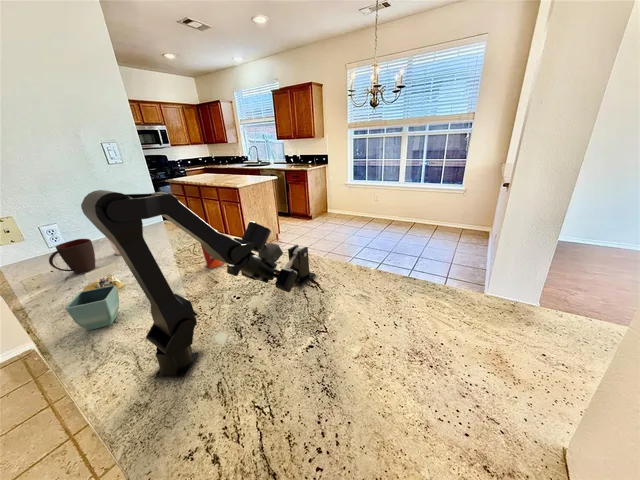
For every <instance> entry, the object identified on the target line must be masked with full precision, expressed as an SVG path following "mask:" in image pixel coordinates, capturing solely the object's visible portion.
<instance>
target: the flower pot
mask: <svg viewBox="0 0 640 480" xmlns="http://www.w3.org/2000/svg"><path fill="white" fill-rule="evenodd" d="M64 309H65V311H66V312H67V313H68V315H69V316H70V318H71V319H72V320H73V321H74V323H75V324H77V325H78V326H79V327H81V328H83V329H85V330H89V331H91V330H96V329H100V328H104V327H109V326H111V325H113V323H114V321H115V319H116V317H117V316H118V313H119V309H120V297H119V292H118V290H117V287H116V285H113V286H108V287H103V288H98V289H93V290H88V291H83V290H82V291H80V292H79V293H77V295H76V296H74V297H73V299H72V300H71V301H70V302H69V303H68V304H67V306H65V308H64Z"/></svg>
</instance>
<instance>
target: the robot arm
mask: <svg viewBox="0 0 640 480" xmlns="http://www.w3.org/2000/svg"><path fill="white" fill-rule="evenodd" d="M80 207H81V211H82V213H83V215H84V216H85V218H87V219H88V220H89V221H90V222H91V224H92V225H93V226H94V227H95V228H96V229H97V230H98V231H99V232H100V233H101V234H102V235H104V236H105V237H107V238H106V239H107V240H108V239H109V240H110V241H111V242H112V243H113V244H114V245H115V246H116V248H117V249H118V251H119V253H120V256H121V257H122V259H123V261H124V263H125V264H126V266H127V267H128V269H129V270H130V272H131V274H132V275H133V277H134V279H135V280H136V282H137V283H138V286H139V287H140V288H141V291H142V292H143V293H144V295H145V296H146V298H147V300H148V301H149V303H150V315H151V318H152V321H153V323H152V325H151V327H150V329H149V330H148V332H147V334H146V336H145V339H146V340H147V341H148V342H149V343H151V344H153V345H154V346H155V347H156V348H155V349H156V352H155V354H154V355H155V357H156V360H157V363H158V366H159V369H158V370H157V371H156V372H155V377H158V378H184V377H186V375H188V372H189V371H190V370H191V368H192V367H193V365H194V364H195V362H196V360H197V359H198V358H199V355H200V353H199V352H196V351H193V349H192V345H193V343H194V342H193V340H194V333H195V328H196V326H197V324H198V319H197V317H198V315H199V314H198V313H197V312H196V311H195V310H194V307H193V303H192V302H191V300H190V299H187V298H185V297H184V296H182V295H180V294H178V293H177V292H175V293H174V292H173V289H172V288H171V286H170V284H169V283H168V280H167V279H166V276H165V275H164V273H163V271H162V269H161V268H160V266H159V264H158V262H157V260H156V258H155V257H154V255H153V253H152V251H151V248H149V246H148V244H147V242H146V240H145V237H144V225H143V220H148V219H152V218H155V217H159V216H162V217H163V218H165V219H166V220H167V221H168V222H170V223H172V224H173V225H175V226H176V227H177V228H179V229H180V230H181V231H183V232H184V233H186V234H188V235H189V236H190V237H191V238H193V239H194V240H196V242H198V243H201V244H202V245H203V247H204V249H205V251H206V252H207V253H208V254H209V255H210V256H211V257H212V258H213V259H216V260H218V261H221V262H222V263H224V264H226V273H227V274H229V275H232V276H234V277H238V276H239V274H240V273H241V276H243V277H245V278H248V279H251V280H253V281H259V282H263V283H265V284H269V281H273V280H274V279H276V278H277V279H276V281H275V282H274V283H275V284H274V286H275V288H276V289H278V290H280V291H284V292H285V293H290V292H291V291H292V289H294V288H295V286H296V284H295V283H294V282H295V279H296V277H297V272H296V271H295V270H293V269H290V268H286V267H285V266H284V267H282V268H281V269H277V266H278V264H277V262H278V260H279V259H280V258H281V257H282V256H283V255H284V252H283V249H282V247H281V246H280V245H279V244H277V243H274V242H268V240H269V238H270V235H271V233H272V230H271V229H270V228H268V227H266V226H264V225H261V224H259V223H257V222H256V221H252V220H251V221H249V222H248V224H247V227H246V229H245V231H244V233H243V236H242V237H241V238H239V237H231V236H227V235H225V234H223V233H221V232H219V231H218V230H217V229H215V228H214V227H212V226H211V225H210V224H208V223H207V222H206V221H205V220H204V219H203V218H201V217H200V216H199V215H198V214H196V213H195V212H193V211H192V210H191V209H190V208H188V207H187V206H186V205H185V204H183V203H182V202H181V201H180V200H179V199H178V198H177V197H176V195H175V194H172V193H169V192H163V191H162V192H161V191H155V192H151V193H122V192H118V191H111V190H107V189H105V190H104V189H98V190H93V191H91V192H89V193H88V194H86V195H85V196H84V198H83V199H82V202H81V204H80ZM216 230H217V231H216ZM109 240H108V241H109ZM201 244H200V245H201ZM256 253H257V254H258V255H257V254H256ZM279 270H281V271H279ZM276 273H277V274H276ZM278 274H279V275H278Z"/></svg>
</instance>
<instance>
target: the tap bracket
mask: <svg viewBox="0 0 640 480" xmlns="http://www.w3.org/2000/svg"><path fill="white" fill-rule="evenodd" d="M297 247H298V248H300V247H299V244H294V245H293V246H291V247H289V248H287V254H288V262H289V261H290V260H291V258H292V257H293V256H294V255H293V251H294V250H295V249H296V248H297ZM301 248H302V249H300V250H299V251H297V255H298V258H297V259H296V260H295V262H294V263H293V264H292V266H291V267H290V268H289V269H293V270H295V271H296V272H297V277H296V279H295V282H294V283H295V285H298V286H300V287H301V286H303V285H305V284H306V283H307V282H309V281H310V280H311V279H312V278H314V277H315V276H316V273H315V272H311V271H310V260H309V247H308V246H304V247H301Z"/></svg>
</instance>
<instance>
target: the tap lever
mask: <svg viewBox="0 0 640 480" xmlns="http://www.w3.org/2000/svg"><path fill="white" fill-rule="evenodd" d="M298 247H299V246H298ZM298 247H297V248H296V249H295V250H294V251H293V255H294V256H293V257H292V258H291V260H290V261H289V260H288V262H287V264H285V266H284V267H286V268H289V269H290V267H291V266H292V264H293V263H294V262H295V260H296V259H297V258H298V255H297V251H299V250H300V249H302V248H303V247H299V248H298ZM278 270H279V271H281V269H278ZM275 274H277V273H275ZM278 275H279V274H278ZM275 279H276V280H277V278H275Z"/></svg>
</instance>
